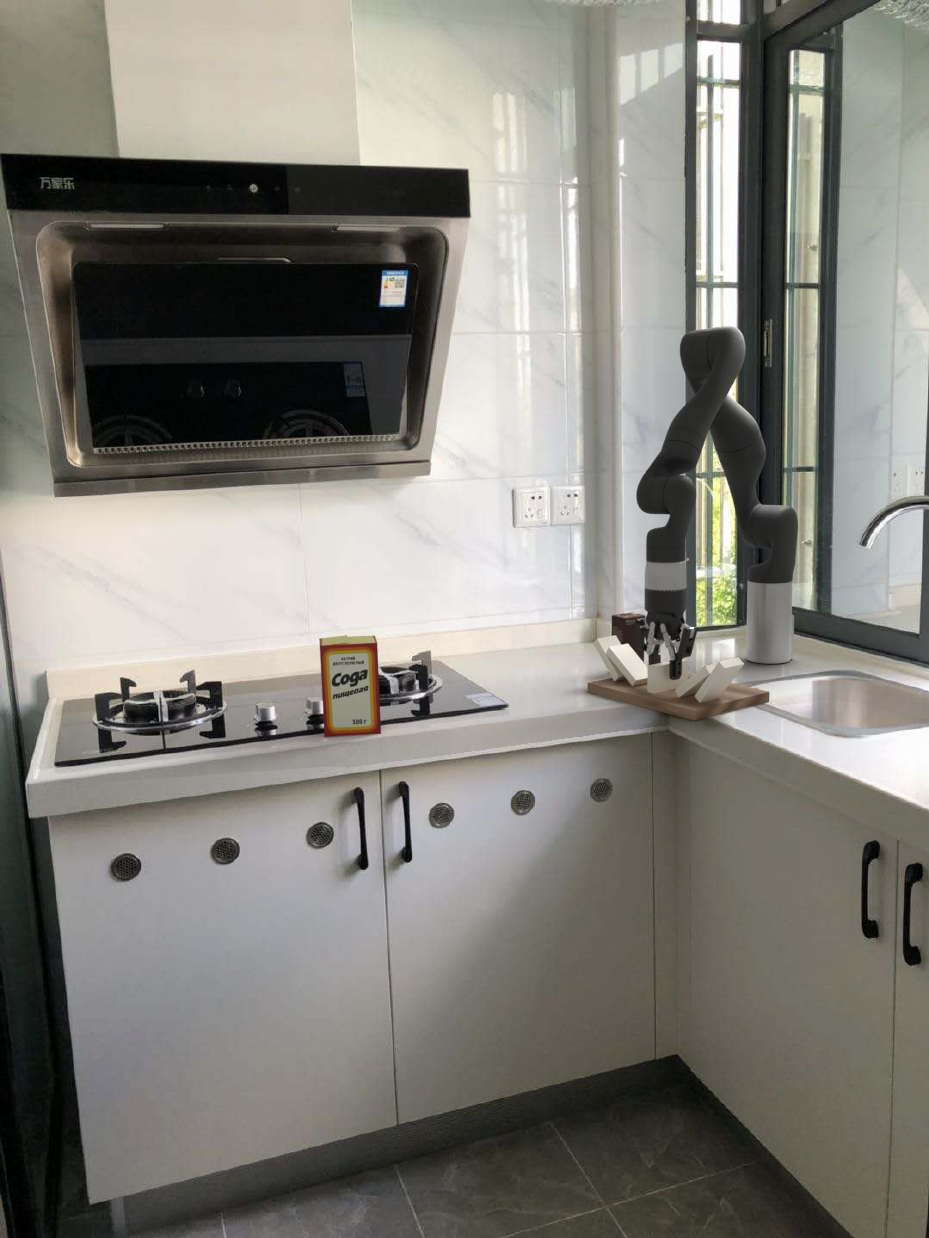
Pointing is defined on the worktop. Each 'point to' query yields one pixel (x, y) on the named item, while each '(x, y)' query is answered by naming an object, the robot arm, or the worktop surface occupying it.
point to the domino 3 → (664, 677)
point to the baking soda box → (350, 685)
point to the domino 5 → (719, 679)
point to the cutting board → (677, 706)
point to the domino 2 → (628, 663)
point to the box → (627, 630)
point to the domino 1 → (602, 648)
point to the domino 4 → (695, 681)
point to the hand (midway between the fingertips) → (664, 676)
